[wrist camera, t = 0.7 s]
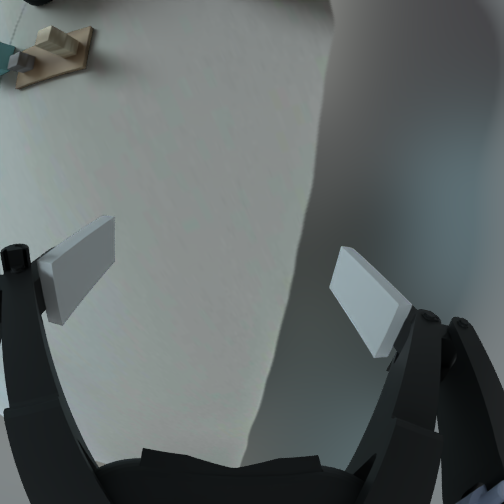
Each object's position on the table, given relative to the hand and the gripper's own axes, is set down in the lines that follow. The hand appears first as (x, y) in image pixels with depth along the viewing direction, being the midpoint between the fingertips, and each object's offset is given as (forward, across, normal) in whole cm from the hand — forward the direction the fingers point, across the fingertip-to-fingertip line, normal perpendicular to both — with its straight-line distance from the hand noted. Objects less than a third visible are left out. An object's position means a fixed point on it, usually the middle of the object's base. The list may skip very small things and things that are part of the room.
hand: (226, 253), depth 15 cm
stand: (+27, -35, +21) cm, 48 cm away
